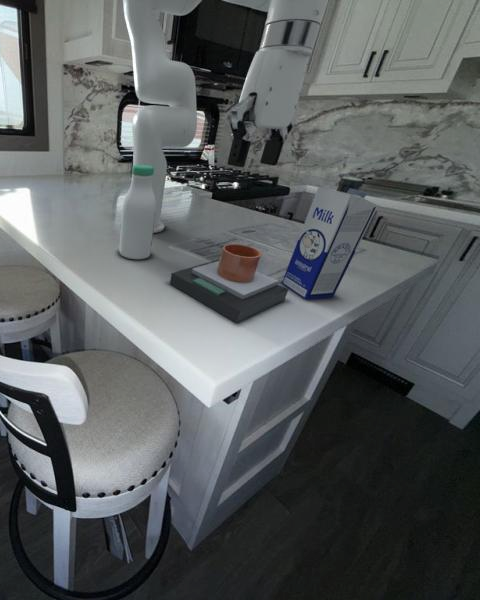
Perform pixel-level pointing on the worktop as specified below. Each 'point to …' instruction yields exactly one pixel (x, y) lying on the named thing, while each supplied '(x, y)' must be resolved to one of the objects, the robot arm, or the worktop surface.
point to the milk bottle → (138, 215)
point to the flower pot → (238, 263)
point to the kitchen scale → (229, 291)
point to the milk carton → (328, 242)
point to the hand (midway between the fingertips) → (252, 165)
